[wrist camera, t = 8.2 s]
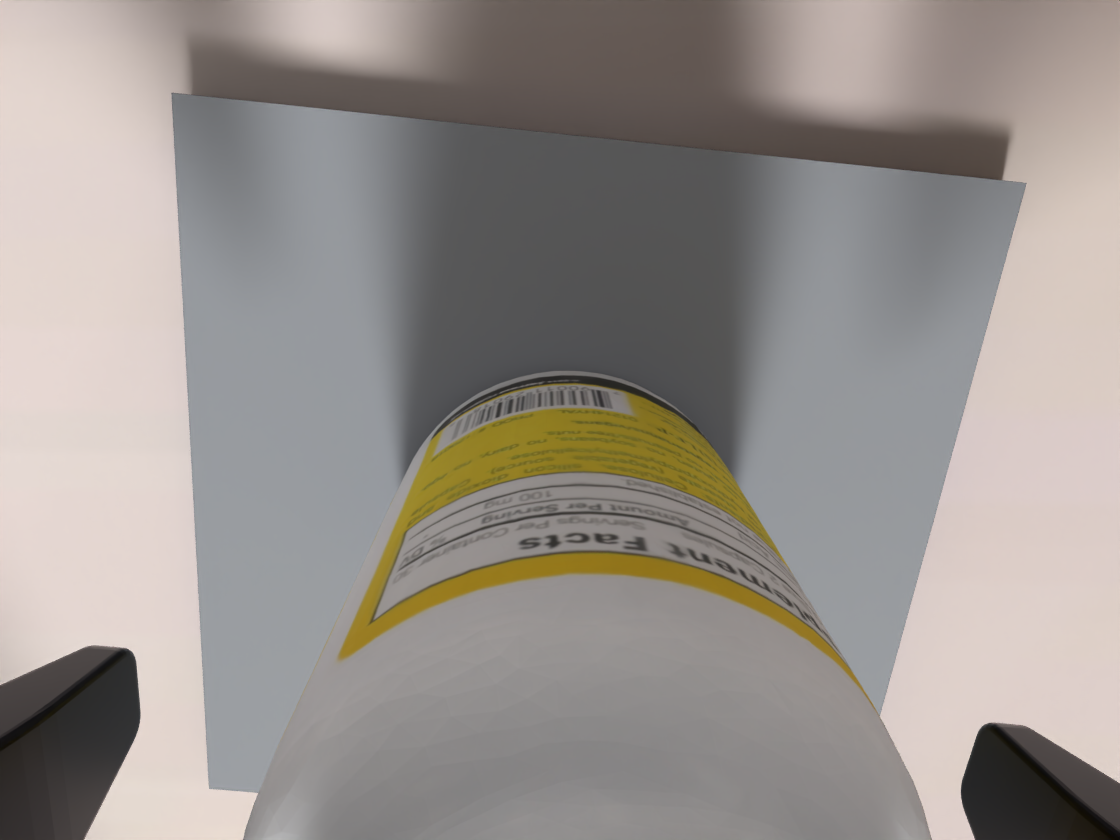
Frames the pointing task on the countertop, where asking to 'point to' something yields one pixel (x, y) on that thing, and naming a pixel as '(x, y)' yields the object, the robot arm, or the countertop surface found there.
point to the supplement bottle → (580, 651)
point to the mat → (552, 351)
